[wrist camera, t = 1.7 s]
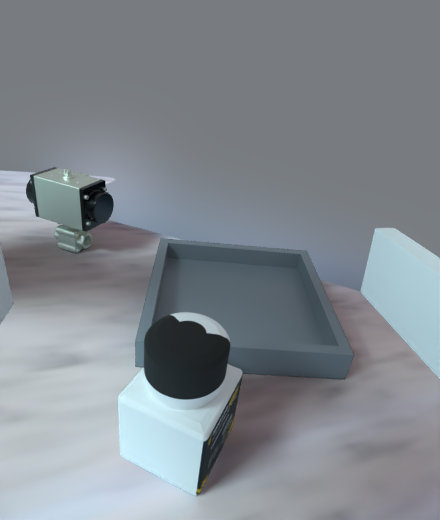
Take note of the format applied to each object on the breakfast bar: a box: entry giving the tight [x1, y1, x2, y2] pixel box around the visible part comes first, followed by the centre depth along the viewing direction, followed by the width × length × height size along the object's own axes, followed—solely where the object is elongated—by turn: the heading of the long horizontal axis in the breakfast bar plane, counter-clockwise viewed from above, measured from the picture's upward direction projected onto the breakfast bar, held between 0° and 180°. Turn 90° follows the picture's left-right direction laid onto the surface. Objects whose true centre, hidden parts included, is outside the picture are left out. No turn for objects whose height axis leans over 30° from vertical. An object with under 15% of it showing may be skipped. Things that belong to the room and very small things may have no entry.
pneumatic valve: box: [26, 168, 113, 253], centre depth 56 cm, size 6×12×12 cm, turn 67°
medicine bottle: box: [118, 312, 243, 496], centre depth 29 cm, size 7×7×12 cm
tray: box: [135, 238, 354, 379], centre depth 48 cm, size 22×22×4 cm
